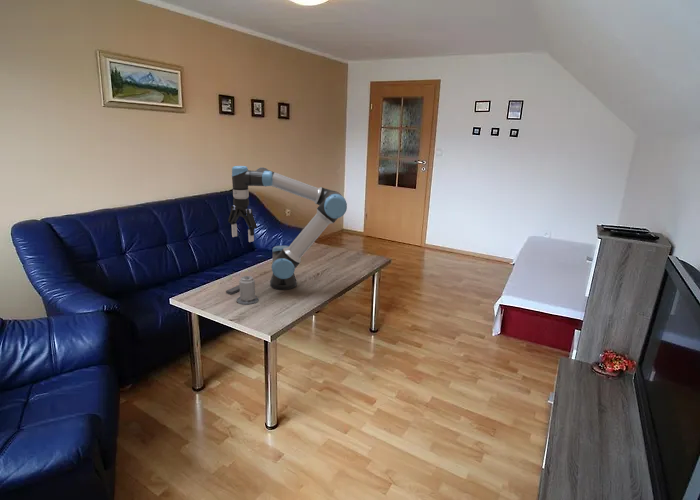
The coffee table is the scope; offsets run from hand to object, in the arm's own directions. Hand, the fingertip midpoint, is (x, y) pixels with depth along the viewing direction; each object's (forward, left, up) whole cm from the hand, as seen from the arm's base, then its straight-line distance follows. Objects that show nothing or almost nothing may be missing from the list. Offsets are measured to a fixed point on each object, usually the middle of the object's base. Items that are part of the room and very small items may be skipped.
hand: (242, 239), depth 205 cm
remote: (-2, -9, -32) cm, 33 cm away
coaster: (+3, +6, -31) cm, 32 cm away
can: (+3, +6, -31) cm, 32 cm away
